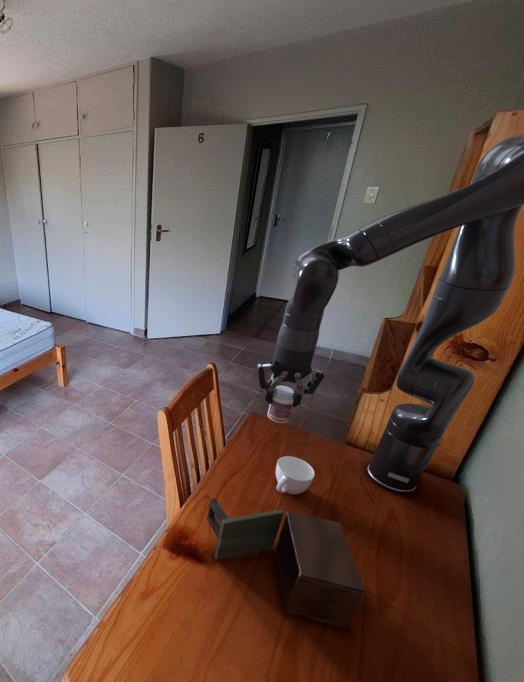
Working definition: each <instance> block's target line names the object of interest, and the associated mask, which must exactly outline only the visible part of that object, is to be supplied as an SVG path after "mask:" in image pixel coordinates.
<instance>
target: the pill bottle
mask: <svg viewBox="0 0 524 682" xmlns="http://www.w3.org/2000/svg"><path fill="white" fill-rule="evenodd" d="M293 395H294V389H293V388H292V387H289V386H286V385H279V386H277V387H276V388H275V389H274V394H273V398H272V403H271V404H268V405H269V406H268V409H267V417H268V419H270V420H271V421H272V422H274V423H278V424H285V423H286V424H287V423H288V422H289V421H290V417H291V412H292V409H293V402H294V399H293Z"/></svg>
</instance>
